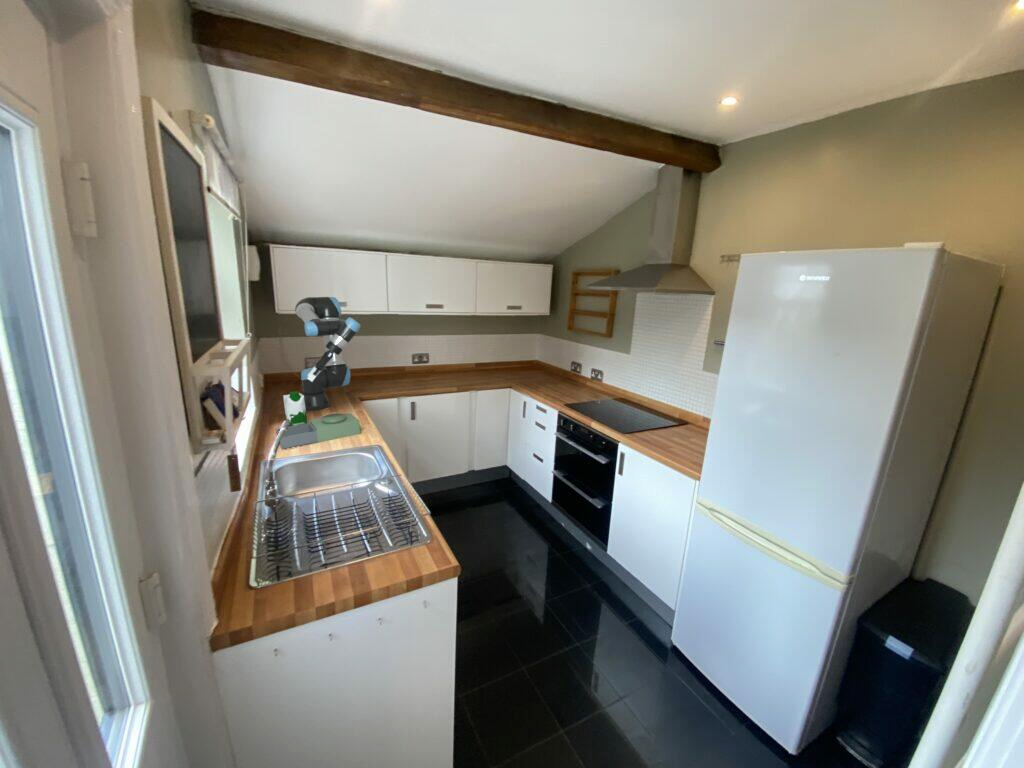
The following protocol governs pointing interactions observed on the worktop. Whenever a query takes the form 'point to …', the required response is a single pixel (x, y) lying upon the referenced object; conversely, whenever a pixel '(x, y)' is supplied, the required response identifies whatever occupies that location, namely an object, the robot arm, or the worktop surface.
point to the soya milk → (295, 408)
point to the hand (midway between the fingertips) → (309, 378)
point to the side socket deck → (320, 430)
